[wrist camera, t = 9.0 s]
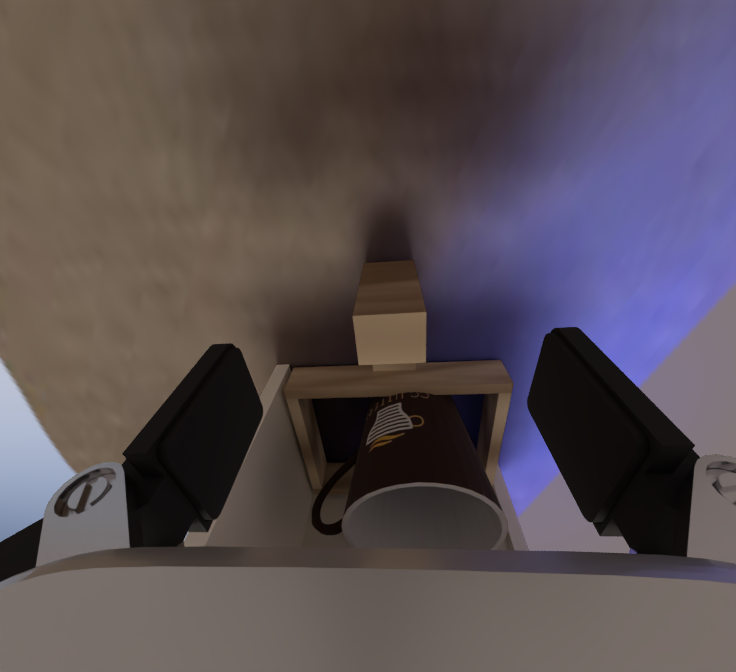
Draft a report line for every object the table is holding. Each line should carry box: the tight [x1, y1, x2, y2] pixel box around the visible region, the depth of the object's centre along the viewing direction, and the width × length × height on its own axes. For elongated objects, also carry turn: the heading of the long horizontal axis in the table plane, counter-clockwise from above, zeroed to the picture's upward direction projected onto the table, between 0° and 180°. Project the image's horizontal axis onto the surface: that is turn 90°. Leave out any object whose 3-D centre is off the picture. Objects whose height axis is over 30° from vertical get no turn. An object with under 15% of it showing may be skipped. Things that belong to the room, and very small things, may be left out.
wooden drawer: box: [284, 260, 514, 494], centre depth 21 cm, size 20×15×7 cm
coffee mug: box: [312, 392, 508, 550], centre depth 21 cm, size 12×9×10 cm
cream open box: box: [184, 364, 529, 551], centre depth 19 cm, size 14×18×16 cm
